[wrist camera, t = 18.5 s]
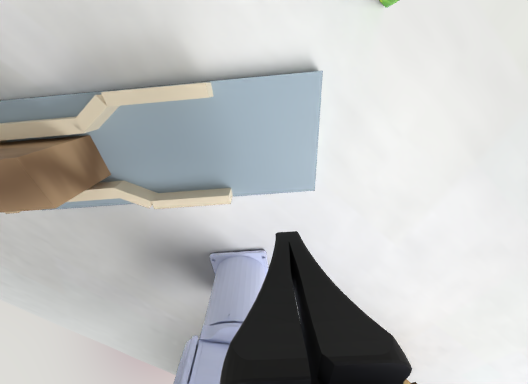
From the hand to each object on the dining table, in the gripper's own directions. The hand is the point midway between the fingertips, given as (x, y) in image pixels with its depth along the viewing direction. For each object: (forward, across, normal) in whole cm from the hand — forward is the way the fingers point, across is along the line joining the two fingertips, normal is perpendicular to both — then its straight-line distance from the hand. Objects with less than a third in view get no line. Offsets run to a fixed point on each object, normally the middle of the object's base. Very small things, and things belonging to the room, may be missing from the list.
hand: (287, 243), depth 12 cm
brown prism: (+9, +21, -4) cm, 23 cm away
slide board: (+10, +11, -4) cm, 15 cm away
